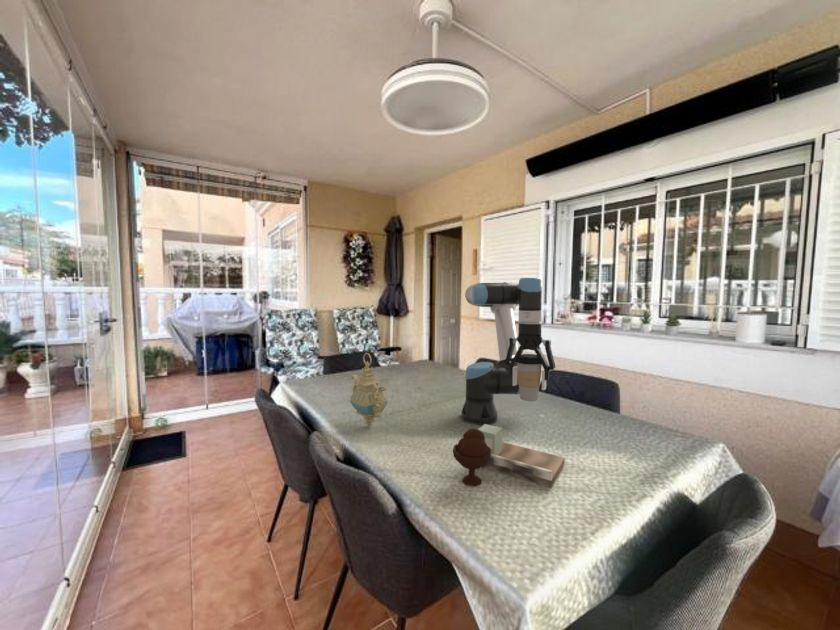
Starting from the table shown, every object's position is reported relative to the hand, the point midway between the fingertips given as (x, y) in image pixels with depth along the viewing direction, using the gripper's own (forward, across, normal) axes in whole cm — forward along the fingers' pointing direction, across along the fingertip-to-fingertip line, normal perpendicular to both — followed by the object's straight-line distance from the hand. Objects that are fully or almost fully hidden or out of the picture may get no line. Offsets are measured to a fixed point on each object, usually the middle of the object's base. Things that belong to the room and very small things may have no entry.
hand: (529, 387), depth 123 cm
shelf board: (+21, +1, -14) cm, 26 cm away
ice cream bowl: (+21, -7, -32) cm, 39 cm away
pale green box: (+19, -8, -16) cm, 26 cm away
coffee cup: (+4, 0, 0) cm, 4 cm away
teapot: (+21, -59, -18) cm, 65 cm away
